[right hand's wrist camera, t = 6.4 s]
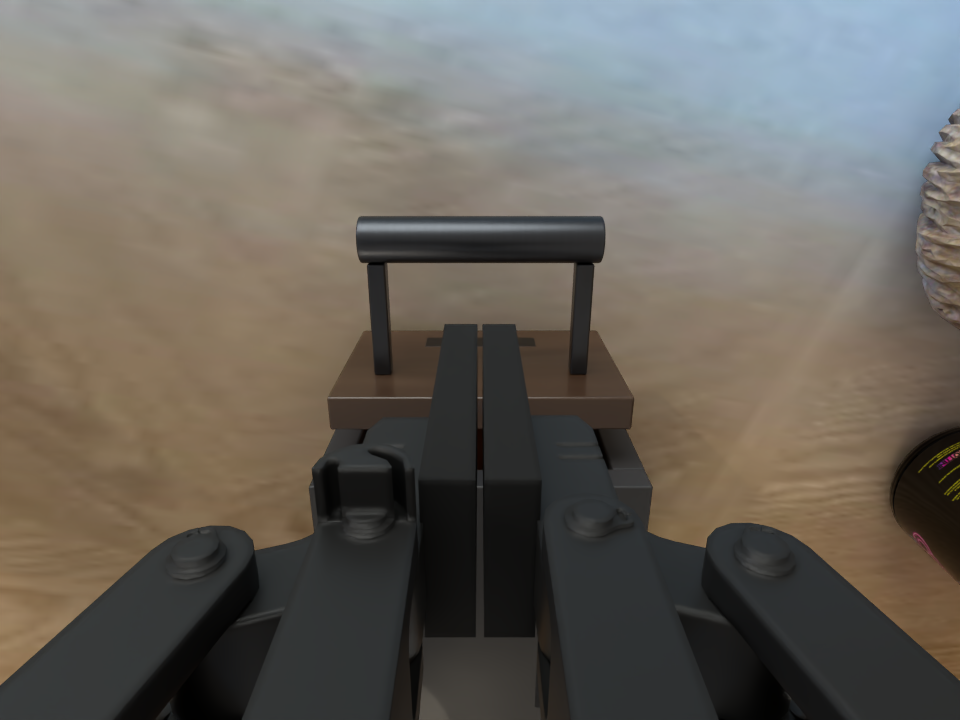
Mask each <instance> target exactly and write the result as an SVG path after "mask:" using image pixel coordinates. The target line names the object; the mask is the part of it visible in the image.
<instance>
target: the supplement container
mask: <svg viewBox="0 0 960 720" xmlns="http://www.w3.org/2000/svg"><path fill="white" fill-rule="evenodd" d="M890 504H891V509H892V512H893V515H894V517H895V519H896V521H897V523H898V524H899V526H900V527H901V528H902V529H903V530H904V531H905V532H906V533H907V534H908V535H909V536H910V537H911V538H912V539H913V540H914V541H915V542H916V543H917V544H918V545H919V546H920V547H921V548H922V549H923V550H924V551H926V552H927V553H928V554H929V555H930V556H931V557H932V558H933V559H934V560H935V561H936V562H937V563H938V564H939V565H940V566H941V567H942V568H943V569H944V570H945V571H946V572H947V573H948V574H949V575H950V576H951V577H952V578H953V579H954V580H955V581H956V582H957V583H958V584H959V585H960V427H956V428H952V429H949V430H945V431H943V432H940V433H938V434H936V435H934V436H932V437H930V438H928V439H926V440H925V441H923V442H922V443H920V444H919V445H918V446H916V447H915V448H914V449H913V450H912V451H911V452H910V453H909V454H908V455H907V456H906V457H905V458H904V460H903V461H902V462H901V464H900V465H899V467H898V469H897V471H896V473H895V475H894V477H893V480H892V484H891V488H890Z"/></svg>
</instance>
